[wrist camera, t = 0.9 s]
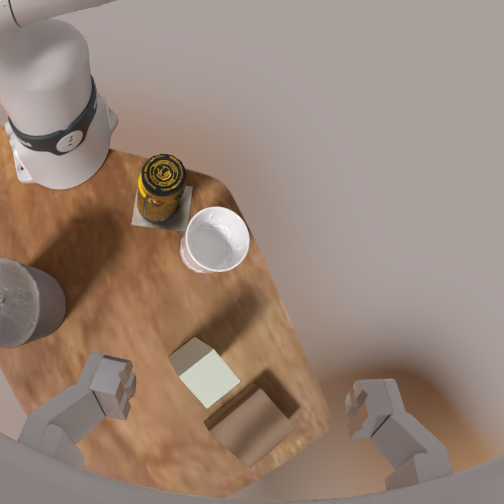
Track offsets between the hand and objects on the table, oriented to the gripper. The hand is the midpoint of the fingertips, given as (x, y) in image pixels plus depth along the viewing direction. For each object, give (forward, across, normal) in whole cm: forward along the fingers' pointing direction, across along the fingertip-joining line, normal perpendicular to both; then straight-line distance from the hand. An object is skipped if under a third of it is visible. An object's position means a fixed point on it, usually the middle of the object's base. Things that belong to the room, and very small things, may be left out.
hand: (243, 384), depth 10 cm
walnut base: (+18, -3, +37) cm, 42 cm away
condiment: (+36, +13, +10) cm, 39 cm away
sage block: (+22, +6, +28) cm, 36 cm away
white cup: (+34, +6, +16) cm, 37 cm away
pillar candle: (+21, +29, +19) cm, 41 cm away
